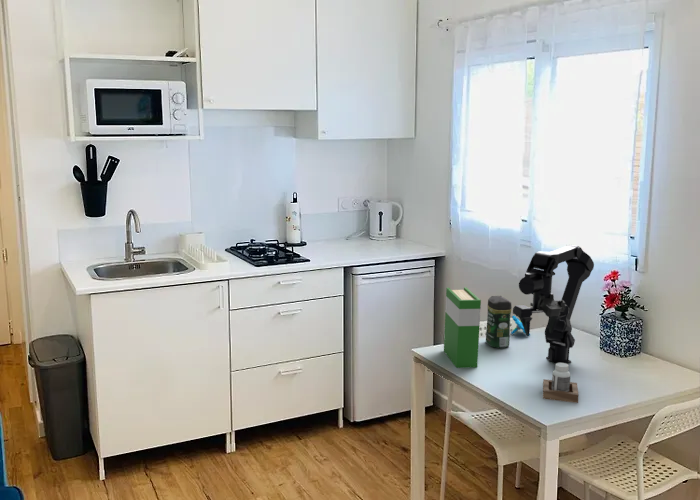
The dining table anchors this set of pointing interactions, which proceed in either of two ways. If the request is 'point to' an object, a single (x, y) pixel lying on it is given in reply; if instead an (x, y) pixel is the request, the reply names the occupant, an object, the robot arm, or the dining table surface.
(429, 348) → the dining table surface
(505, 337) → the coffee jar
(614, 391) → the dining table surface
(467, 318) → the hardback book
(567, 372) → the pill bottle
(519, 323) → the blue angled piece
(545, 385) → the socket block
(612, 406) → the dining table surface
